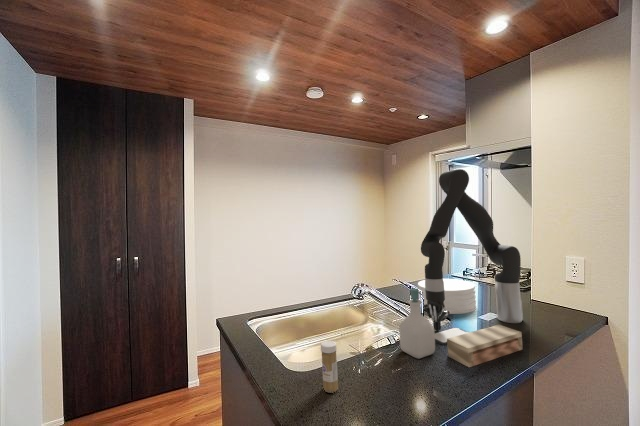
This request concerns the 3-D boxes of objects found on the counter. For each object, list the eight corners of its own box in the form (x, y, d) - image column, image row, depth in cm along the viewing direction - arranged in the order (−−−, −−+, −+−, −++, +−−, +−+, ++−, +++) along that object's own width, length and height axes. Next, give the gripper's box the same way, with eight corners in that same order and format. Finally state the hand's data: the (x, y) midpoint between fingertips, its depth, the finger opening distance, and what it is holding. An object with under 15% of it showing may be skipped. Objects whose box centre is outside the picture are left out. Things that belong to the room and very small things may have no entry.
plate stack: (410, 308, 154) (409, 286, 154) (429, 295, 175) (428, 276, 175) (468, 317, 136) (466, 293, 136) (481, 302, 157) (480, 281, 157)
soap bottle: (418, 361, 97) (414, 293, 98) (398, 351, 106) (394, 288, 106) (438, 354, 102) (434, 289, 102) (417, 344, 110) (413, 284, 111)
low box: (499, 340, 110) (498, 324, 110) (522, 349, 102) (521, 332, 102) (447, 356, 100) (446, 338, 100) (469, 367, 92) (467, 348, 92)
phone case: (443, 347, 108) (474, 338, 114) (443, 343, 108) (474, 333, 114) (426, 339, 116) (456, 330, 122) (426, 335, 116) (455, 326, 122)
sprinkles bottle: (319, 391, 84) (317, 344, 84) (329, 383, 87) (327, 338, 88) (332, 396, 81) (329, 348, 81) (341, 388, 84) (339, 342, 85)
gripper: (453, 290, 118) (456, 333, 117) (430, 284, 130) (432, 323, 129) (439, 293, 115) (442, 337, 114) (416, 286, 127) (419, 326, 127)
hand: (437, 329), depth 122 cm, fingers closed
